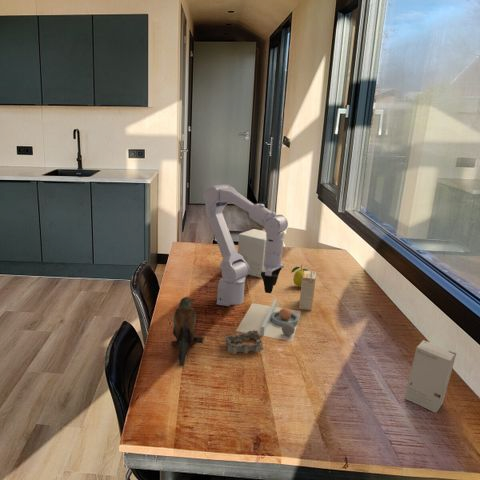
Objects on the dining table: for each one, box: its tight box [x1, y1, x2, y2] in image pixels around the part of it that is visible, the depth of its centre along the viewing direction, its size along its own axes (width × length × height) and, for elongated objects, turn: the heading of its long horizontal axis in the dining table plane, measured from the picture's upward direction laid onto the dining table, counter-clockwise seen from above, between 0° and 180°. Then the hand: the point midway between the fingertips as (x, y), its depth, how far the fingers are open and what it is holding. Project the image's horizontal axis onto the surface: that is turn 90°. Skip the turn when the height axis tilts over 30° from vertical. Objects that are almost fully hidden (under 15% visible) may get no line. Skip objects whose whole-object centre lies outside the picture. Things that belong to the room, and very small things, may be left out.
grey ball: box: [282, 323, 296, 336], centre depth 135 cm, size 4×4×4 cm
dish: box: [271, 311, 300, 327], centre depth 145 cm, size 9×9×2 cm
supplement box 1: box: [237, 228, 266, 279], centre depth 192 cm, size 13×13×18 cm
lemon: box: [290, 264, 309, 288], centre depth 177 cm, size 7×6×10 cm
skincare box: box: [403, 340, 457, 414], centre depth 106 cm, size 8×6×15 cm
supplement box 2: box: [298, 270, 317, 311], centre depth 158 cm, size 8×5×13 cm, turn 168°
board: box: [235, 302, 302, 342], centre depth 145 cm, size 18×23×1 cm
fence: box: [261, 298, 278, 337], centre depth 144 cm, size 1×23×3 cm, turn 165°
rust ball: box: [279, 307, 291, 320], centre depth 144 cm, size 4×4×4 cm
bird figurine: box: [170, 296, 206, 367], centre depth 124 cm, size 13×10×20 cm
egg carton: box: [224, 330, 264, 355], centre depth 128 cm, size 11×8×4 cm
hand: (270, 288), depth 148 cm, fingers open, 7 cm apart
